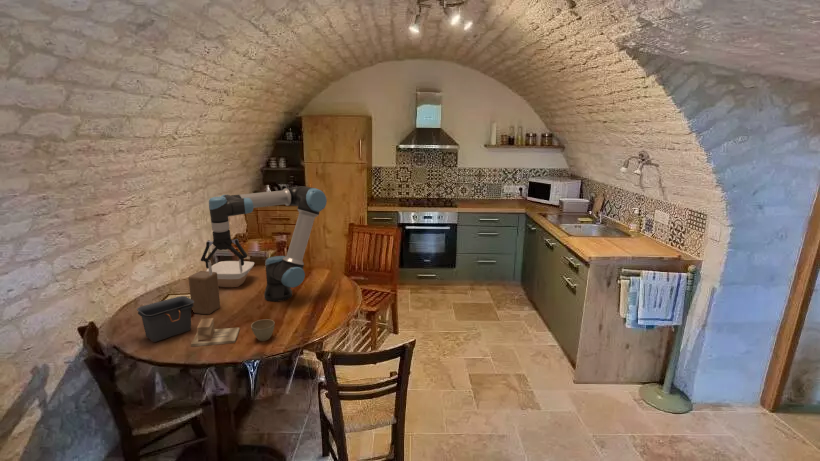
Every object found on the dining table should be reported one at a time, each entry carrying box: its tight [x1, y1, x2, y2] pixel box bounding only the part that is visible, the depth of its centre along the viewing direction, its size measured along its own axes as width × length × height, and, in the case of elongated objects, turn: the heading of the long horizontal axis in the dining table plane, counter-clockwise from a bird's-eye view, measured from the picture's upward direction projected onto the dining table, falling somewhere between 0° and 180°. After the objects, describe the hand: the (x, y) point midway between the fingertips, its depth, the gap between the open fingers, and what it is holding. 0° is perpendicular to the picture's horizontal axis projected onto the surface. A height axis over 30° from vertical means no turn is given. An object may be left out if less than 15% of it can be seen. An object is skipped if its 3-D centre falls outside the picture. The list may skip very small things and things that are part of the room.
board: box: [190, 327, 240, 347], centre depth 195 cm, size 18×13×1 cm
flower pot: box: [250, 318, 275, 342], centre depth 195 cm, size 10×10×7 cm
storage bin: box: [136, 295, 194, 343], centre depth 196 cm, size 21×16×14 cm
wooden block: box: [188, 270, 221, 315], centre depth 222 cm, size 10×10×20 cm
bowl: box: [205, 260, 255, 288], centre depth 261 cm, size 24×25×11 cm
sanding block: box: [196, 317, 216, 341], centre depth 194 cm, size 5×9×6 cm, turn 13°
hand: (226, 273), depth 206 cm, fingers open, 13 cm apart
